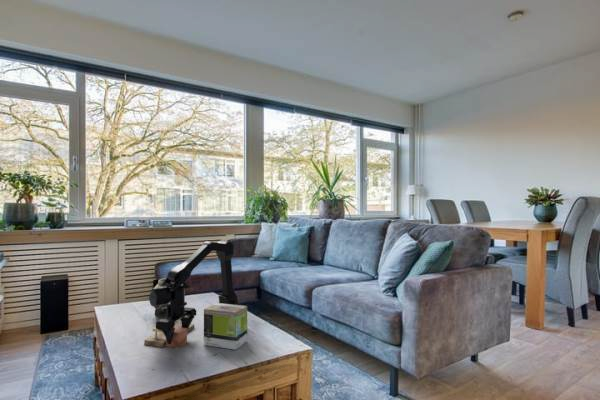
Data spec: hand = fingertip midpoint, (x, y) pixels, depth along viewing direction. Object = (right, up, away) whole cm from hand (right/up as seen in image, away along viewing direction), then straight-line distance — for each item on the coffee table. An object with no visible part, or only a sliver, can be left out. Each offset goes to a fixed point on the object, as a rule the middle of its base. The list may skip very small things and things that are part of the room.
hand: (176, 339), depth 135 cm
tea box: (+19, -2, +2) cm, 20 cm away
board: (-6, -2, +8) cm, 10 cm away
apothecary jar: (-18, -2, +34) cm, 39 cm away
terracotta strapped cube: (-4, -2, +1) cm, 5 cm away
